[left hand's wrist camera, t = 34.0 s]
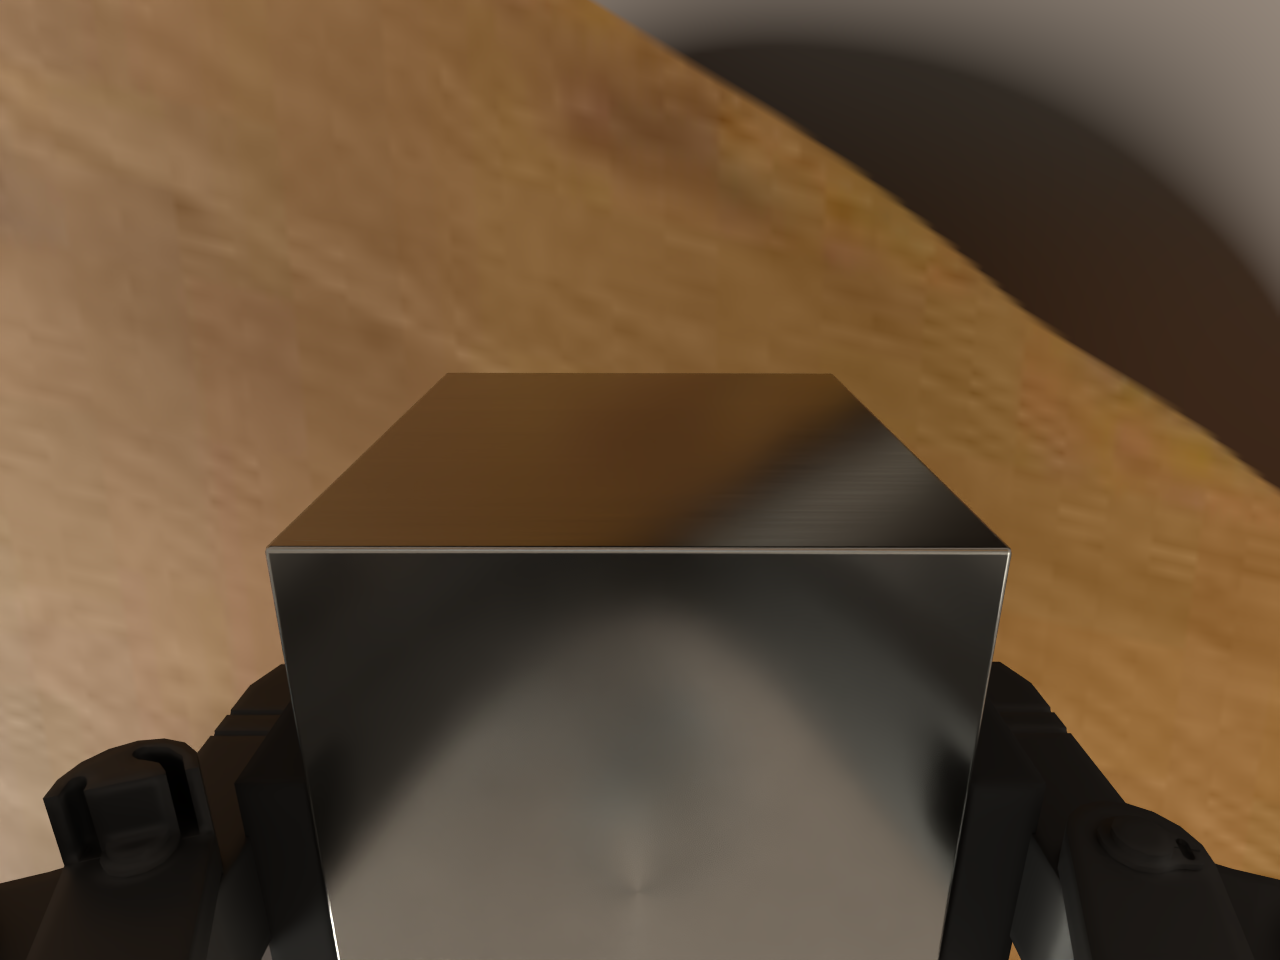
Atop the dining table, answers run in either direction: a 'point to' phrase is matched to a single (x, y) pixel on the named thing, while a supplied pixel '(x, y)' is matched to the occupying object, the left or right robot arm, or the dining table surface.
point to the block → (638, 674)
